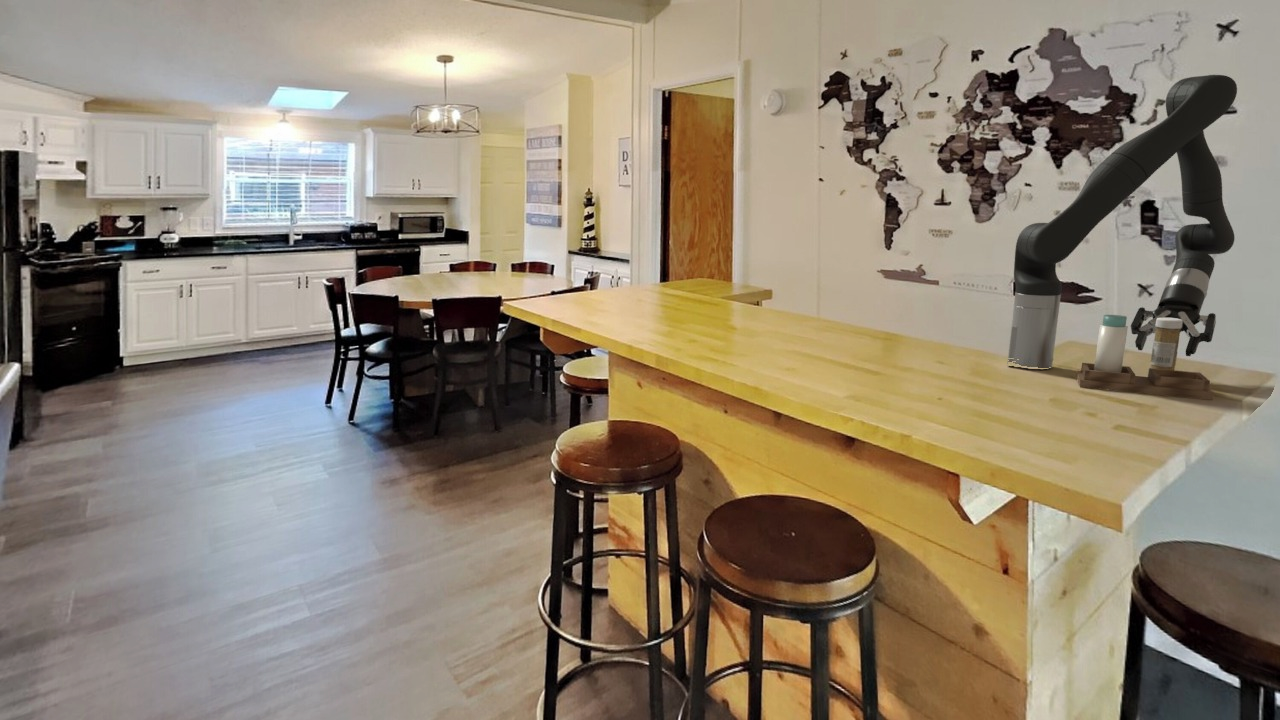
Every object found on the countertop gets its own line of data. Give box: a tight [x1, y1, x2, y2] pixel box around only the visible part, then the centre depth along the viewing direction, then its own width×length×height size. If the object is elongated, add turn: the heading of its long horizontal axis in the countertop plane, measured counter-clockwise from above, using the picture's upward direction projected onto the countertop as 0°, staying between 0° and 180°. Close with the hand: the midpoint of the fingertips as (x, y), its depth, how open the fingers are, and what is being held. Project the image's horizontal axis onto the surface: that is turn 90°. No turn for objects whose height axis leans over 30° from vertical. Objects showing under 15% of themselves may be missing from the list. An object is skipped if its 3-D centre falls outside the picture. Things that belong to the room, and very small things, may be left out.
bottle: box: [1094, 314, 1129, 373], centre depth 147 cm, size 5×5×13 cm
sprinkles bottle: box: [1149, 318, 1183, 370], centre depth 151 cm, size 5×5×13 cm
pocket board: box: [1075, 362, 1214, 401], centre depth 145 cm, size 22×10×4 cm, turn 62°
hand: (1163, 351), depth 150 cm, fingers open, 8 cm apart
